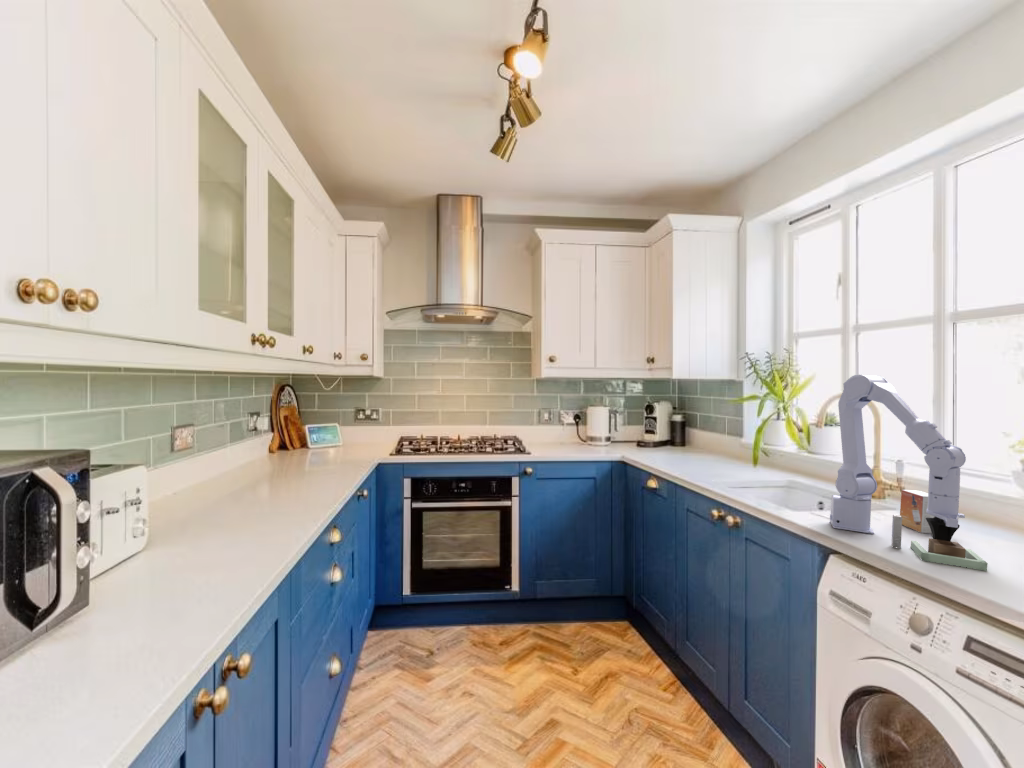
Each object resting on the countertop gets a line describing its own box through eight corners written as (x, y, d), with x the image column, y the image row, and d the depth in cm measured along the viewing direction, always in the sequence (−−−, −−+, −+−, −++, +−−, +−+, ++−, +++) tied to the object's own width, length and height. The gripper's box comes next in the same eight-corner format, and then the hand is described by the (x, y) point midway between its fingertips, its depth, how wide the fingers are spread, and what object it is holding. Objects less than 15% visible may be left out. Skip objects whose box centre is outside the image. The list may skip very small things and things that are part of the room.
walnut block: (934, 559, 114) (935, 544, 114) (928, 552, 119) (928, 538, 119) (964, 564, 111) (965, 549, 111) (956, 556, 116) (957, 542, 116)
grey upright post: (892, 547, 122) (894, 516, 121) (891, 545, 123) (892, 514, 123) (900, 548, 121) (902, 517, 121) (899, 546, 122) (900, 515, 122)
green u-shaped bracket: (922, 560, 113) (922, 552, 113) (910, 547, 122) (910, 540, 122) (987, 571, 107) (987, 563, 107) (970, 556, 116) (970, 549, 116)
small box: (898, 524, 143) (900, 489, 142) (917, 525, 142) (919, 490, 142) (920, 533, 135) (922, 496, 134) (941, 533, 134) (943, 496, 134)
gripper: (976, 503, 110) (973, 561, 110) (954, 490, 123) (952, 543, 123) (936, 498, 113) (934, 555, 113) (919, 487, 126) (917, 538, 126)
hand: (940, 548), depth 118 cm, fingers closed
